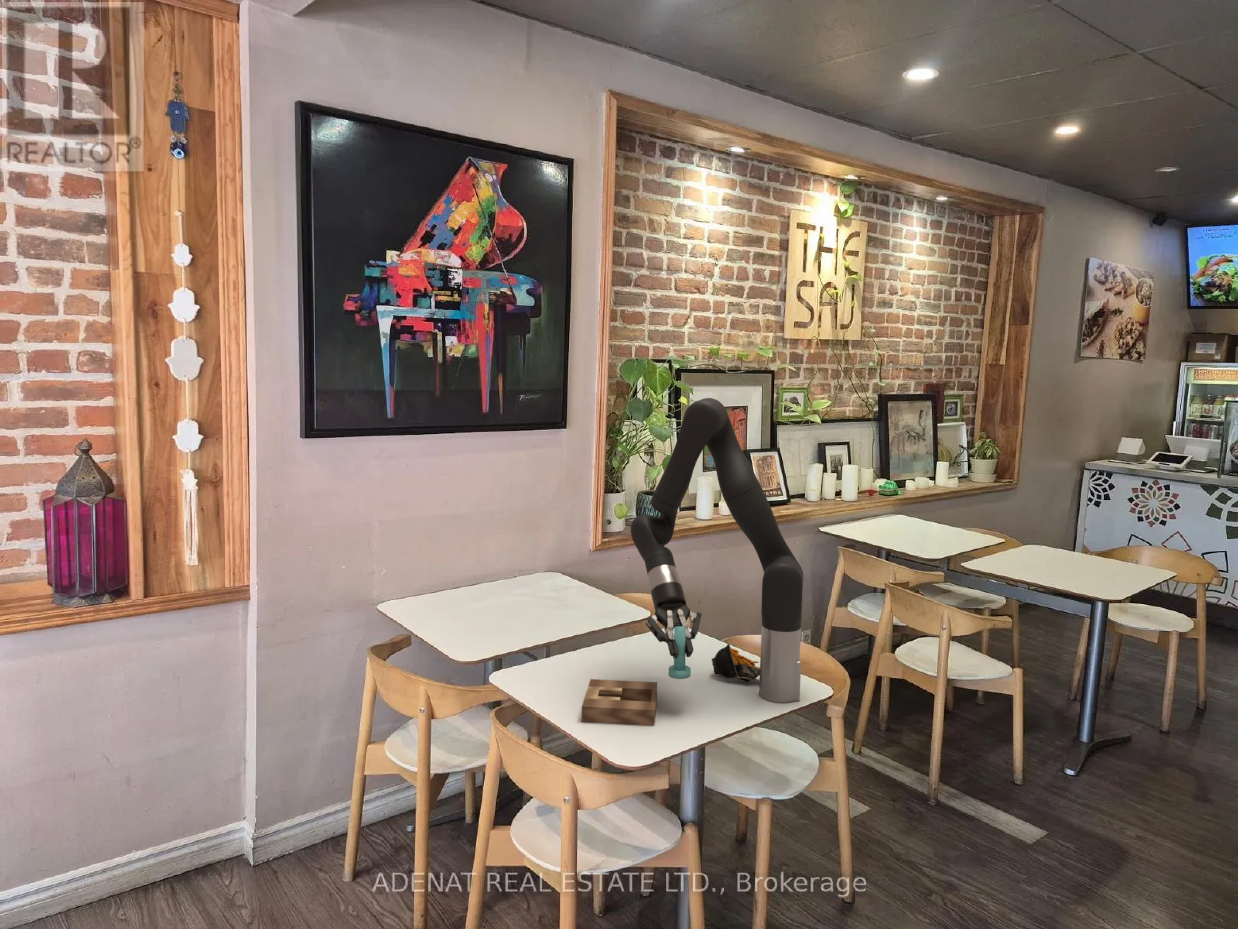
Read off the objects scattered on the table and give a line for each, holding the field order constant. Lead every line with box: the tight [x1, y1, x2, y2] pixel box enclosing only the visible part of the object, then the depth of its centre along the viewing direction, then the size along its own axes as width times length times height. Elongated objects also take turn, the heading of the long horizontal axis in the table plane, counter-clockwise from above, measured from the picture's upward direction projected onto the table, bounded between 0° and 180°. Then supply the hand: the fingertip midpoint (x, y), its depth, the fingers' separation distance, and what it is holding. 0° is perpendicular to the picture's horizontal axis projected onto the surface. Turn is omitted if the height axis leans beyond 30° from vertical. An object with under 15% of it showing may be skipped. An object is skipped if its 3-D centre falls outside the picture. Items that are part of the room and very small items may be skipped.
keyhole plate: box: [581, 678, 658, 726], centre depth 188 cm, size 16×16×4 cm
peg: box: [668, 626, 692, 680], centre depth 185 cm, size 5×5×11 cm
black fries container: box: [711, 643, 760, 683], centre depth 207 cm, size 9×11×18 cm
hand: (682, 656), depth 183 cm, fingers closed on peg, 2 cm apart
